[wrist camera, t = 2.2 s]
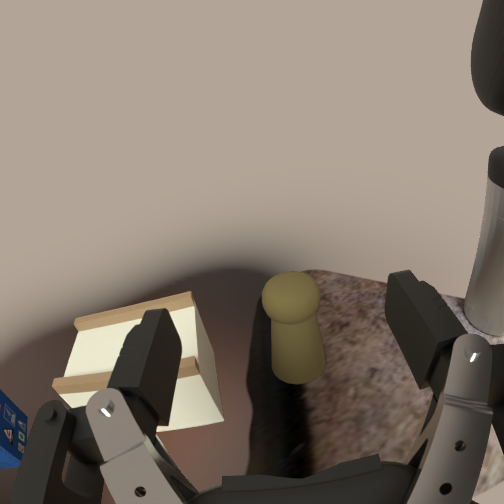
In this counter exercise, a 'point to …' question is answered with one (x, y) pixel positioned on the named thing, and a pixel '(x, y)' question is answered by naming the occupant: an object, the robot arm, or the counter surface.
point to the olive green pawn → (294, 327)
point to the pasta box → (11, 433)
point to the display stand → (110, 343)
